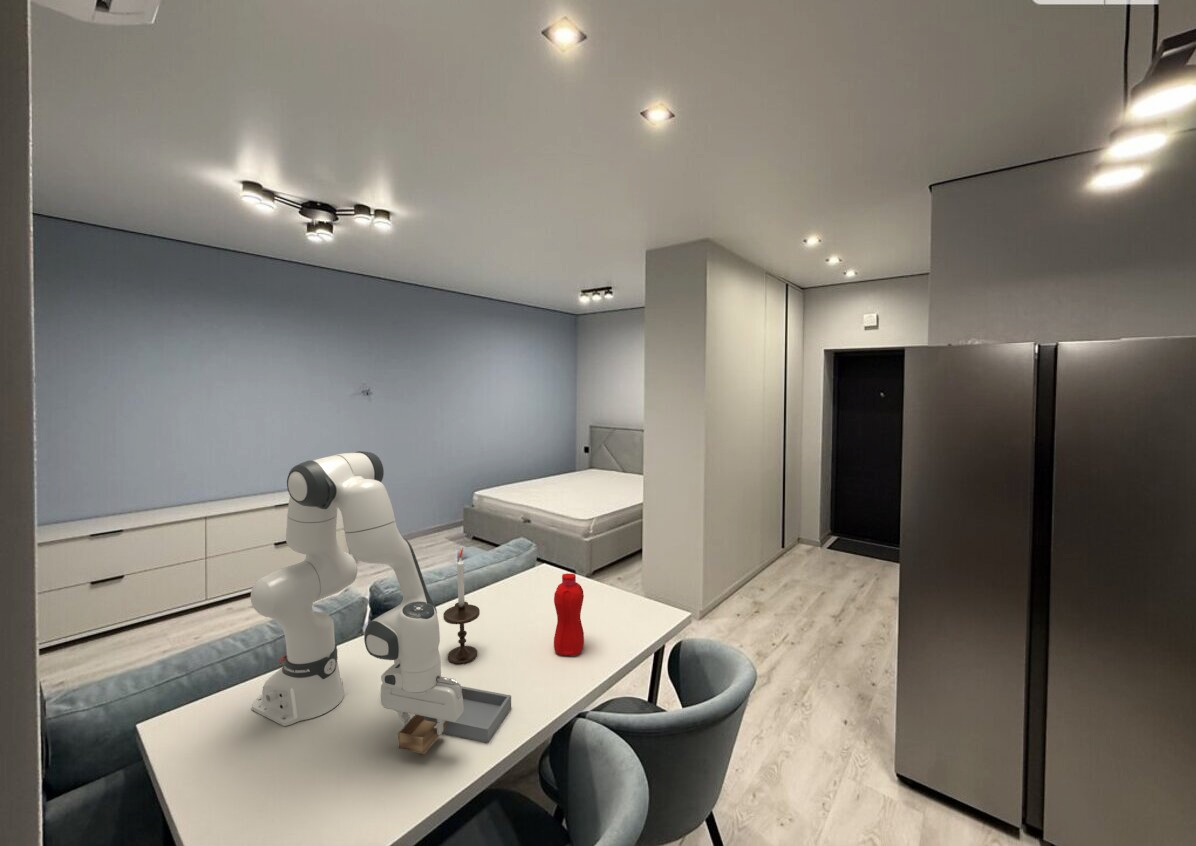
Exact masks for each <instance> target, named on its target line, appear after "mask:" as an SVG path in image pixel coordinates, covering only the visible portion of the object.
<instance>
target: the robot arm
mask: <svg viewBox="0 0 1196 846" xmlns="http://www.w3.org/2000/svg"><path fill="white" fill-rule="evenodd" d="M384 474H385V472H384V466H383V462H382V461H381V458H380V457H379V456H377V454H376V453H373V452H371V451H355V452H345V453H337V454H332V455H331V456H330V455H329V456H325V457H322V458H321V457H320V458H316V459H313V460H311V459H310V460H305V461H303V462H300V463H297V464H296V465H294V466H293V467H292V468H291V469H290V471H289V473H288V475H287V479H286V486H287V491H288V494H289V500H288V505H287V513H286V514H287V515H286V516H287V517H286V530H285V531H286V532H285V541H286V544H287V545H288V547H289V549H290V550H292V551H293V552H296V553H298V554H302V555H305V558H304V560H303V561H301V562H297V563H295V564H291V565H289V566H286V567H282V568H279V569H277V570H274V571H272V572H271V573H268V574H266V575H265V576H263V577H260V578H258V579H257V580H256V581H255V582H254V584H253V586H252V588H251V591H250V603H251V606H252V608H253V609H254V610H255V612H257V613H258V614H259V615H260V616H263V617H265V618H269V619H272V620H274V621H275V622H276V623H278V624H279V626H280V628H282V631H283V634H284V639H285V640H284V641H285V647H286V654H285V655H283V656H282V657H280V658H279V659H278V661H279V662H278V663H279V664H280V663H283V664H282V667H281V668H279V669H278V670H277V671H276V672H274V673H273V674H272V675H271V676H270V677H268V678H267V680H265V682H264V684H263V687H262V693H261V695H259V696H258V697H257V698H256V699H255V700H254V701H253V702H252V705H251V710H252V711H253V710H254V712H255V713H257V714H259V715H261V716H263V717H265V718H267V719H269V720H271V721H272V722H275V723H277V724H279V725H280V726H283V727H287V726H290V725H293V724H295V723H297V722H301V721H305V720H310V719H314V718H316V717H319V716H322V715H324V714H326V713H328V712H329V711H331V710H333V709H334V708H336V707H337V706H338V705H339V704H340V703H341V702H342V701H343V699H344V697H345V691H344V688H343V684H344V682H343V681H344V680H343V678H342V677H341V673H340V669H339V663H338V662H339V661H338V658H339V657H338V647H337V644H336V643H335V642H336V641H335V640H336V639H335V621H334V620H333V618H332V617H331V616H330V615H329V614H327V613H326V612H323V611H314V610H313V604H314V603H315V602H318V601H321V600H323V599H325V598H328V597H330V596H332V595H333V596H334V595H335V594H338V593H340V592H342V591H343V590H344V589H346V588H347V587H349V586H350V585H352V584H353V583H354V582H355V581H356V578H357V575H358V564H357V561H356V559H357V560H358V561H360V562H362V563H365V564H371V565H372V564H373V565H374V564H375V565H376V564H377V565H387V566H389V567H390V568H391V569H392V570H393V571H394V574H395V578H396V579H397V582H398V585H399V588H400V591H401V594H402V601H401V603H400V604H399V605H397V606H395V607H393V608H392V609H390V610H387V611H386V612H383V613H382V614H381V615H379V616H376V617H375V618H374V619H372V620H371V621H369V622H368V623H367V625H366V627H365V631H364V634H363V640H364V645H365V649H366V652H368V654H369V655H371V656H372V657H374V658H376V659H378V660H379V659H380V660H385V661H394V660H396V659H398V660H399V661H398V662H396V663H395V664H394V663H393V664H392V665H391V666H389V667H388V668H387V669H386V670H385V671H384V672H383V673H382V674H381V676H380V680H381V685H380V693H379V694H380V705H382V707H383V709H385V710H391V711H395V712H396V711H397V715H398V717H399V718H400V720H401V722H402V729H403V728H404V727H405V725H406V724H407V723H408V722H409V721H410V720H411V719H412V718H413V717H414V716H415V715H420V716H425V717H430V718H435V719H437V722H439V723H437V724H436V726H434V728H433V729H434V734H437V735H440V734H443V733H442V732H443V724H444V722H445V721H450V722H455V721H456V720H457V719H458V718H459V717H460V716H461V714H462V713H463V711H464V704H463V697H462V687H461V686H462V685H461V683H459V682H458V681H457V680H456V678H448V677H444V676H442V664H441V663H442V662H441V654H440V651H439V646H440V642H441V641H440V640H441V639H440V638H441V635H440V621H439V617H438V610H437V607H436V605H435V603H434V601H433V599H432V597H431V596H430V594H429V592H428V588H427V586H426V583H425V581H424V577H423V573H422V571H421V568H420V566H419V565H420V564H419V562H418V559H417V556H416V554H415V551H414V549H413V547H412V545H411V543H410V542H409V541H408V540H407V539H406V538H405V537H403V536H402V535H401V533H400V531H399V528H398V525H397V523H396V522H397V521H396V517H395V512H394V509H393V505H392V501H391V499H390V496H389V494H388V490H387V488H386V486H385V485H384V484H383V483H382V482H383V479H384ZM338 510H339V511H340V513H341V517H342V524H343V525H342V526H343V531H344V536H345V542H346V546H347V548H348V551H349V553H348V552H346V551H344V550H343V549H342V548H341V547H340V546H339V543H338V541H337V520H338ZM410 714H411V715H414V716H413V717H412V716H410ZM440 736H441V735H440Z"/></svg>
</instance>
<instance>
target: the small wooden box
mask: <svg viewBox="0 0 1196 846" xmlns="http://www.w3.org/2000/svg"><path fill="white" fill-rule="evenodd" d="M437 723H439V722H436V723H435V722H431V721H426V720H424V716H420V715H415V714H414V716H413V718H412V719H411V720H410V721H409V722H408V723H407V724H406V725H405V727H404V728H403V727H402V729H401V730H400V731H399V732H398V733H397V741H398V744H397V745H398V749H400V750H404V751H407V752H408V751H409V752H413V753H417V754H422V755H425V754H426V753H428V751H429V749H430V748H431V747H432V746H433V745H434V743H435V742H436V741H437V740H438V739H439V737H440V736H441V734H442V733H441V734H440V735H437V734H434V729H433V728H434V726H436V724H437ZM446 727H447V721H445V722H444V724H443V731H444V730H445V729H446Z"/></svg>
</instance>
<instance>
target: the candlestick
mask: <svg viewBox="0 0 1196 846" xmlns="http://www.w3.org/2000/svg"><path fill="white" fill-rule="evenodd" d="M463 550H464V549H463V547H461V549H460V551H459V552H460V553H459V555H458V557H459V560H458V561H457V597H458V598H457V601H458V602H456V603H454V606H451V607H449V608H447V609H445V610H444V611H443V617H442V618H443V621H444V622H446V623H448V624H451V625H459V631H457V636H458V637H459V639H458V641H457V642H458V644H459V646H458V647H455V648H453V649H451V650H450V651H449V652H448V653H447V661H448V662H449V663H450V664H452V665H454V666H462V665H466V664H470V663H472V662H474V661H475V660H476V659H477V658H478V649H477V648H475V647H474V646H471V645H466V643H467V638H465V637H466V636H467V633H468V632H467V631H466V630H465V624H468V623H472V622H474V621H475V620H477V619H478V618H479V616H480V614H481V613H480V608H479V607H478V606H477V605H474V604H469V603H468V602H467V601H466V600H465V574H464V573H465V565H464V564H465V563H464V561H463V559H462V556H463ZM458 637H457V638H458Z"/></svg>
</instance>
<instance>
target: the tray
mask: <svg viewBox="0 0 1196 846" xmlns="http://www.w3.org/2000/svg"><path fill="white" fill-rule="evenodd" d="M461 687H462V697H463V704H464V711H463V713H462V714H461V716H460V717H459V718H458V719H457V720H456V721H455V722H450V721H447V727H446V729H445V730H444V731H443V732H442V733H441V734H444V735H449V736H453V737H459V738H462V739H463V738H464V739H467V740H471V741H477V742H481V743H486V744H489V742H490V741H491V739H492V738H493V736H494V735H495V733H496V731H497V730H498V729H499V727H500V725H502V723H503V722H504V720H505V718H506V717H507V716H508V714H509V712H510V711H511V709H512V695H511V694H506V693H500V692H496V691H489V690H484V689H477V688H472V687H470V686H469V687H468V686H463V685H461ZM424 720H426V721H431V722H435V723H436V722H437V719H435V718H430V717H425V716H424Z"/></svg>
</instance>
